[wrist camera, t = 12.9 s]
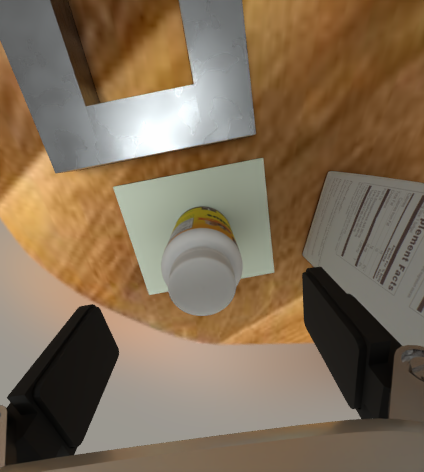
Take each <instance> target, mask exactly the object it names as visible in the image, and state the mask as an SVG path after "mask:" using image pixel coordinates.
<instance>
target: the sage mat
mask: <svg viewBox="0 0 424 472" xmlns="http://www.w3.org/2000/svg"><path fill="white" fill-rule="evenodd" d="M113 188H114V191H115V194H116V197H117V200H118V203H119V206H120V209H121V212H122V215H123V218H124V221H125V224H126V227H127V230H128V233H129V236H130V239H131V242H132V245H133V248H134V251H135V254H136V257H137V260H138V263H139V266H140V269H141V272H142V275H143V278H144V281H145V284H146V287H147V290H148V293H149V295H152V294H158V293H163V292H168V286H167V285H166V283H165V281H164V279H163V276H162V271H161V261H162V257H163V253H164V251H165V248H166V246H167V244H168V241H169V239H170V236H171V234H172V232H173V229H174V227H175V225H176V222H177V221H178V219H179V218H180V216H181V215H182V214H183V213H184V212H186V211H187V210H189V209H191V208H194V207H198V206H207V207H211V208H214V209H216V210H218V211H219V212H221V213H222V214H223V215H224V216H225V217H226V219H227V220H228V222H229V224H230V227H231V230H232V232H233V235H234V237H235V240H236V243H237V245H238V248H239V251H240V253H241V257H242V262H243V270H242V275H241V278H247V277H252V276H258V275H264V274H269V273H274V264H273V254H272V244H271V233H270V223H269V213H268V203H267V192H266V182H265V172H264V162H263V158H259V159H253V160H248V161H243V162H238V163H233V164H228V165H223V166H217V167H212V168H207V169H202V170H197V171H192V172H186V173H181V174H176V175H171V176H166V177H161V178H156V179H150V180H145V181H140V182H135V183H130V184H125V185H120V186H115V187H113ZM241 278H240V279H241Z"/></svg>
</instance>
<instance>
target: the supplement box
mask: <svg viewBox="0 0 424 472" xmlns="http://www.w3.org/2000/svg"><path fill="white" fill-rule="evenodd" d="M303 256H304V257H305V258H306V259H307V260H308V261H309V262H310V263H311V264H312V265H313V266H314V267H319V266H320V267H322V268H323V269H324V270H325V271H326V272H327V273H328V274H329V275H330V276H331V277H332V278H333V280H334V281H335V282H336V283H337V284H338V285H339V286H340V287H341V288H342V289H343V290H344V291H345V292H346V293H347V294H348V293H349V294H351V295H353V296H354V297H355V298H356V299H357V300H358V301H359V302H360V303H361V304H362V305H363V306H364V307H365V308H366V309H367V310H368V311H369V312H370V313H371V314H372V315H373V316H374V317H375V318H376V319H377V321H378V322H379V323H380V324H381V325H382V326H383V327H384V328H385V329H386V330H387V331H388V332H389V333H390V334H391V335H392V336H393V337H394V338H395V339H396V340H397V341H398V342H399V343H400V344H401V345H402V346H405V345H418V346H423V347H424V183H420V182H413V181H407V180H400V179H392V178H385V177H378V176H370V175H363V174H353V173H344V172H336V171H329V172H328V174H327V177H326V180H325V183H324V186H323V190H322V193H321V196H320V199H319V203H318V206H317V209H316V212H315V216H314V219H313V222H312V225H311V229H310V232H309V235H308V238H307V242H306V245H305V248H304V251H303Z"/></svg>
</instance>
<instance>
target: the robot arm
mask: <svg viewBox="0 0 424 472" xmlns="http://www.w3.org/2000/svg"><path fill="white" fill-rule="evenodd" d="M302 278H303V308H304V323H305V326H306V328H307V330H308V332H309V334H310V336H311V338H312V339H313V341H314V343H315V345H316V347H317V348H318V350H319V352H320V354H321V355H322V358H323V359H324V361H325V363H326V365H327V367H328V368H329V370H330V372H331V374H332V376H333V377H334V380H335V381H336V383H337V385H338V387H339V389H340V391H341V392H342V394H343V396H344V398H345V400H346V401H347V403H348V405H349V406H350V408H352V409H356V410H357V412H358V413H359V415H360V417H361V419H357V420H344V421H335V422H326V423H316V424H307V425H298V426H290V427H282V428H274V429H266V430H258V431H251V432H242V433H234V434H227V435H219V436H211V437H204V438H196V439H189V440H181V441H173V442H166V443H159V444H151V445H144V446H136V447H129V448H122V449H115V450H107V451H100V452H93V453H86V454H79V455H74V454H75V451H76V449H77V447H78V446H79V445H80V444H81V443H82V441H83V439H84V437H85V435H86V432H87V430H88V428H89V425H90V423H91V421H92V418H93V416H94V413H95V411H96V409H97V406H98V404H99V402H100V399H101V397H102V394H103V392H104V390H105V387H106V385H107V382H108V380H109V378H110V375H111V373H112V371H113V368H114V366H115V364H116V361H117V359H118V356H119V349H118V347H117V345H116V342H115V340H114V338H113V336H112V334H111V332H110V330H109V328H108V325H107V323H106V321H105V319H104V317H103V314H102V312H101V310H100V309H99V307H96V306H95V305H93V304H92V305H86V306H81V307H79V308H78V309H77V310H76V311H75V313H74V314H73V315H72V316H71V318H70V319H69V320H68V321H67V323H66V324H65V325H64V326H63V328H62V329H61V330H60V332H59V333H58V334H57V335H56V337H55V338H54V339H53V340H52V341H51V343H50V344H49V345H48V346H47V348H46V349H45V350H44V351H43V353H42V354H41V355H40V357H39V358H38V359H37V360H36V361H35V363H34V364H33V365H32V366H31V368H30V369H29V370H28V372H27V373H26V374H25V375H24V377H23V378H22V379H21V380H20V382H19V383H18V384H17V385H16V387H15V388H14V389H13V390H12V392H11V393H10V394H9V395H8V397H7V398H8V400H9V401H10V402H11V403H10V404H9V406H8V407H7V408H6V407H5V406H3V405H0V472H424V347H423V346H418V345H405V346H402V345H401V344H400V343H399V342H398V341H397V340H396V339H395V338H394V337H393V336H392V335H391V334H390V333H389V332H388V331H387V330H386V329H385V328H384V327H383V326H382V325H381V324H380V323H379V322H378V321H377V319H376V318H375V317H374V316H373V315H372V314H371V313H370V312H369V311H368V310H367V309H366V308H365V307H364V306H363V305H362V304H361V303H360V302H359V301H358V300H357V299H356V298H355V297H354V296H353V295H351V294H349V293H348V294H347V293H346V292H345V291H344V290H343V289H342V288H341V287H340V286H339V285H338V284H337V283H336V282H335V281H334V280H333V278H332V277H331V276H330V275H329V274H328V273H327V272H326V271H325V270H324V269H323V268H322V267H320V266H319V267H313V268H307V269H306V272H304V273H303V274H302ZM372 418H373V419H372Z"/></svg>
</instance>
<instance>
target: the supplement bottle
mask: <svg viewBox="0 0 424 472" xmlns="http://www.w3.org/2000/svg"><path fill="white" fill-rule="evenodd" d="M242 270H243V262H242V257H241V253H240V251H239V248H238V245H237V243H236V240H235V237H234V235H233V232H232V230H231V227H230V224H229V222H228V220H227V219H226V217H225V216H224V215H223V214H222V213H221V212H219V211H218V210H216V209H214V208H211V207H207V206H198V207H194V208H191V209H189V210H187V211H186V212H184V213H183V214H182V215H181V216H180V218H179V219H178V221H177V222H176V225H175V227H174V229H173V232H172V234H171V236H170V239H169V241H168V244H167V246H166V248H165V251H164V253H163V257H162V261H161V271H162V276H163V279H164V281H165V283H166V285H167V286H168V292H169V295H170V298H171V300H172V301H173V302H174V304H175V305H176V306H177V307H178V308H179V309H181V310H182V311H184V312H186V313H189V314H192V315H197V316H207V315H212V314H215V313H217V312H220V311H221V310H223V309H224V308H225V307H227V306H228V305H229V303H230V302H231V301H232V299H233V297H234V295H235V291H236V286H237V285H238V283H239V281H240V278H241V275H242Z"/></svg>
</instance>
